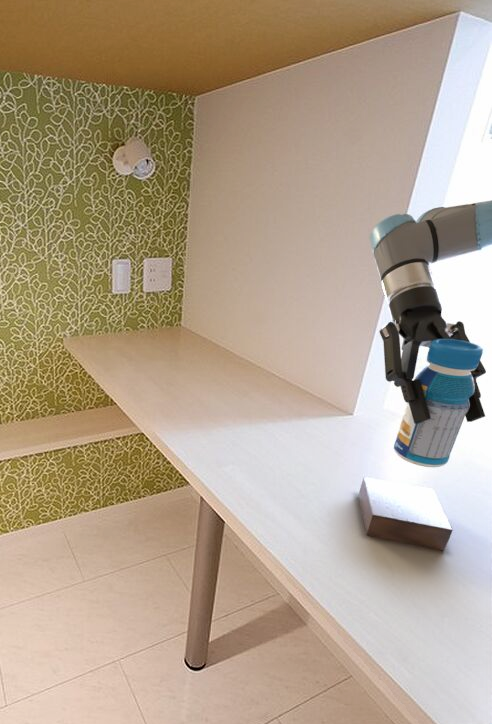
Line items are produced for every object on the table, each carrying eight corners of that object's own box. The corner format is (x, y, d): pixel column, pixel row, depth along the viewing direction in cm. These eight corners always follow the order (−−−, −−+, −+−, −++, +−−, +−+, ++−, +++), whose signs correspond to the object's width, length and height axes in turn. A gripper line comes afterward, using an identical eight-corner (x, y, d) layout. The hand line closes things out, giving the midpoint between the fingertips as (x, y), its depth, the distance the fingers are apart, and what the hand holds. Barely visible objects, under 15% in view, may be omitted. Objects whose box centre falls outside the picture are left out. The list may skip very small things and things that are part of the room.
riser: (426, 508, 83) (433, 489, 81) (444, 551, 73) (452, 530, 71) (358, 495, 87) (363, 477, 85) (366, 535, 76) (372, 514, 74)
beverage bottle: (426, 474, 70) (469, 355, 61) (381, 449, 77) (413, 339, 68) (459, 462, 73) (503, 348, 65) (412, 440, 80) (447, 334, 71)
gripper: (451, 308, 80) (491, 425, 73) (342, 309, 78) (372, 429, 71) (485, 283, 73) (532, 410, 66) (366, 283, 71) (401, 414, 64)
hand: (449, 419), depth 68 cm, fingers closed on beverage bottle, 8 cm apart
